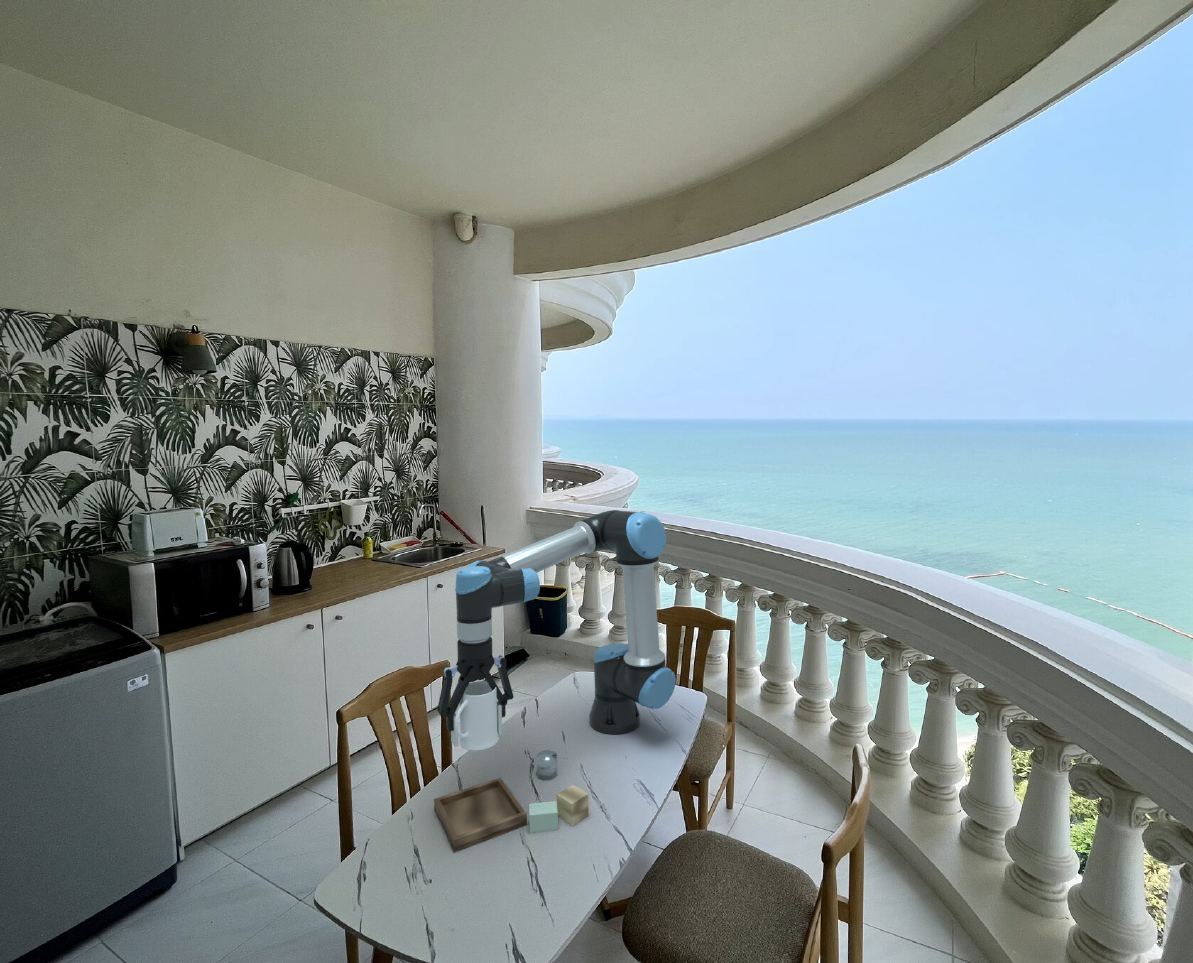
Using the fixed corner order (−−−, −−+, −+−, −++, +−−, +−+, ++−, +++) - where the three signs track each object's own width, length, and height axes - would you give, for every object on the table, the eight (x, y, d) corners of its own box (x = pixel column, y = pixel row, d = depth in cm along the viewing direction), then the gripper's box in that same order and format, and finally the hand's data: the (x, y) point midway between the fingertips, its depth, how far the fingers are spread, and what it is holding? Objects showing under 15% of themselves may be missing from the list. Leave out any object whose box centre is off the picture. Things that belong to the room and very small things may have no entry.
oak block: (573, 805, 128) (572, 784, 128) (588, 815, 124) (588, 793, 124) (557, 816, 124) (556, 794, 124) (572, 826, 121) (571, 804, 121)
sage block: (556, 818, 124) (556, 801, 123) (557, 830, 120) (557, 812, 119) (529, 821, 123) (529, 803, 123) (529, 833, 119) (529, 815, 119)
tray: (500, 787, 135) (500, 777, 135) (527, 824, 121) (526, 813, 121) (434, 809, 127) (434, 799, 127) (454, 852, 113) (454, 840, 113)
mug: (468, 762, 115) (467, 705, 115) (439, 751, 120) (438, 696, 119) (506, 737, 125) (505, 685, 125) (478, 728, 130) (477, 677, 129)
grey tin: (551, 766, 144) (551, 748, 144) (560, 776, 140) (560, 757, 139) (534, 772, 141) (533, 753, 141) (542, 782, 137) (542, 762, 137)
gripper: (514, 625, 131) (516, 718, 132) (419, 642, 120) (422, 743, 121) (527, 633, 125) (529, 731, 126) (428, 652, 113) (431, 759, 115)
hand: (477, 737), depth 123 cm, fingers closed on mug, 9 cm apart
